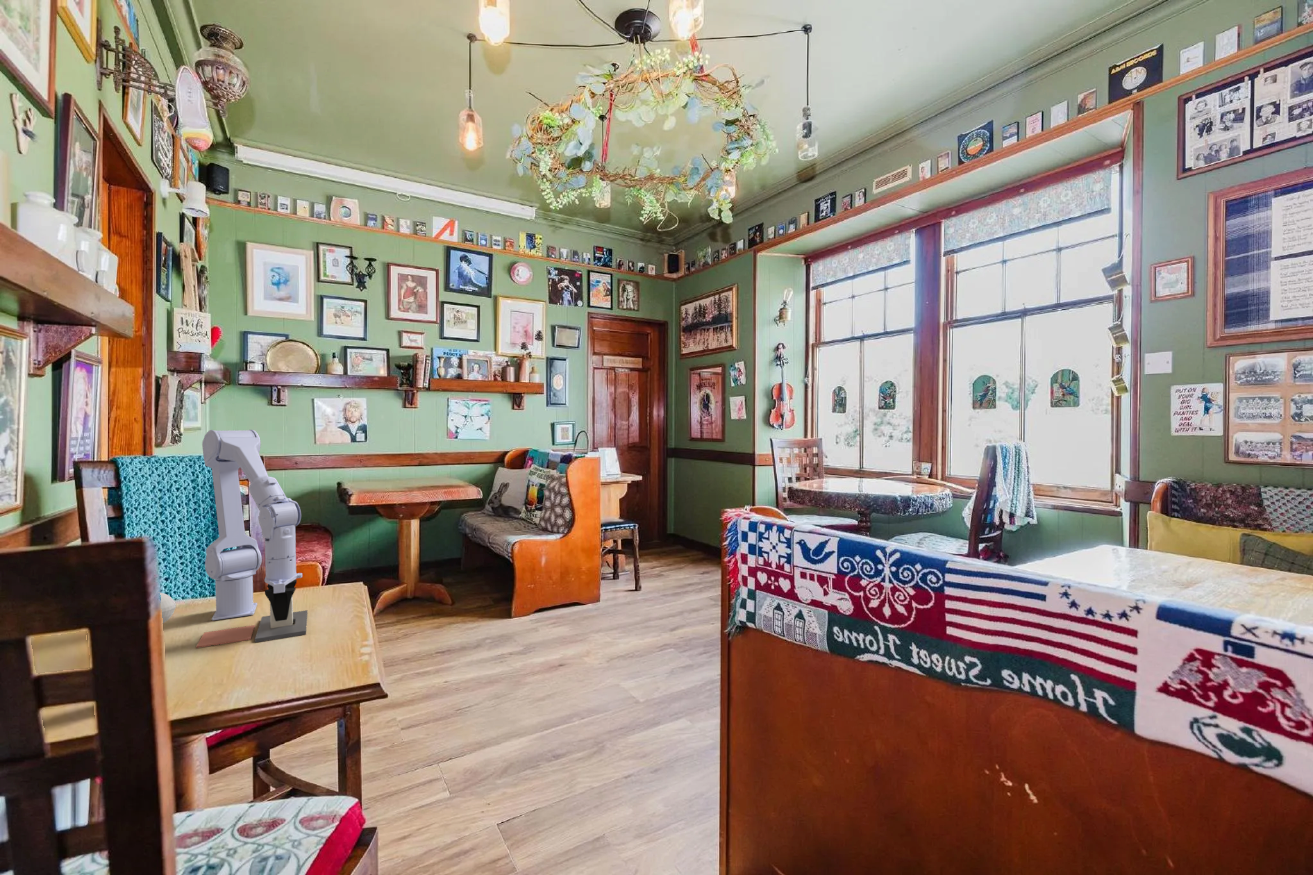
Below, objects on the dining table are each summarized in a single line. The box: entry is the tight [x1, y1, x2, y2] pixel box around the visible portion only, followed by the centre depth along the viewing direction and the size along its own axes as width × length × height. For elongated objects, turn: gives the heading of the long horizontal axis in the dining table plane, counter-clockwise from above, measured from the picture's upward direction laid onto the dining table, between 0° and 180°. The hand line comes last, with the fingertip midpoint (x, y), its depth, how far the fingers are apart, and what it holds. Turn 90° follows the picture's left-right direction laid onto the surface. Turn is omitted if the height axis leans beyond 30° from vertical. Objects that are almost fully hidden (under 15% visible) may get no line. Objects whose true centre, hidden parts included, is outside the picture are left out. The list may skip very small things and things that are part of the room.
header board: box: [254, 609, 308, 643], centre depth 128 cm, size 16×9×1 cm, turn 30°
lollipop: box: [159, 592, 177, 624], centre depth 103 cm, size 6×6×15 cm
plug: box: [269, 595, 294, 628], centre depth 128 cm, size 4×4×6 cm
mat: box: [195, 624, 256, 649], centre depth 122 cm, size 9×9×1 cm
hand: (281, 617), depth 128 cm, fingers closed on plug, 4 cm apart
